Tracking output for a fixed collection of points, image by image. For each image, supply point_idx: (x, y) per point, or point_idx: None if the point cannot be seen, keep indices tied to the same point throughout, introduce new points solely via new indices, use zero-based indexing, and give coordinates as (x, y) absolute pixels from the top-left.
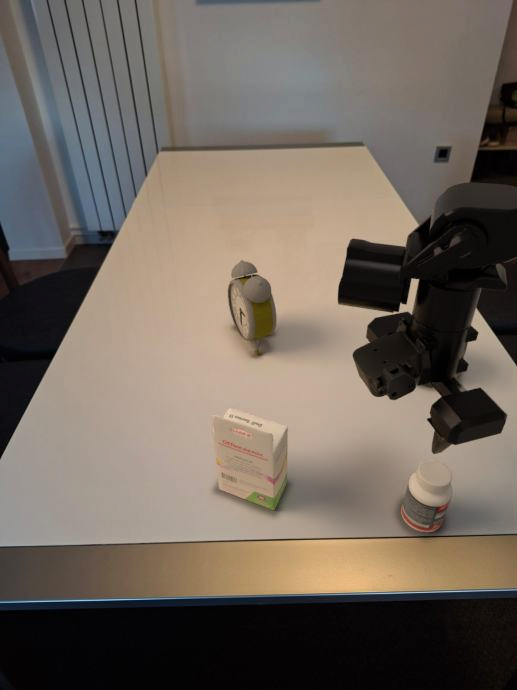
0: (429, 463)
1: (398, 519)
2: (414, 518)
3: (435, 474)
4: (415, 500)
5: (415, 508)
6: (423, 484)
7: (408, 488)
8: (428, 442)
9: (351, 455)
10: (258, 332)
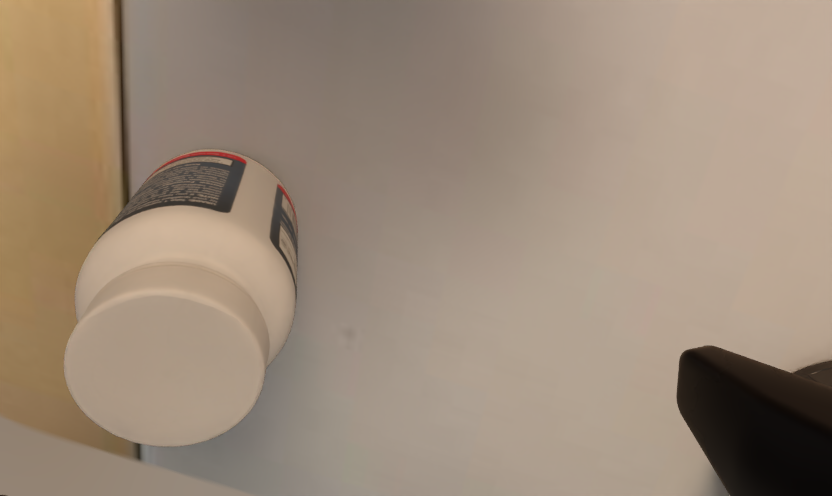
0: (233, 362)
1: (205, 131)
2: (142, 187)
3: (150, 370)
4: (127, 215)
5: (131, 203)
6: (109, 286)
7: (198, 204)
8: (524, 343)
9: (540, 36)
10: None
